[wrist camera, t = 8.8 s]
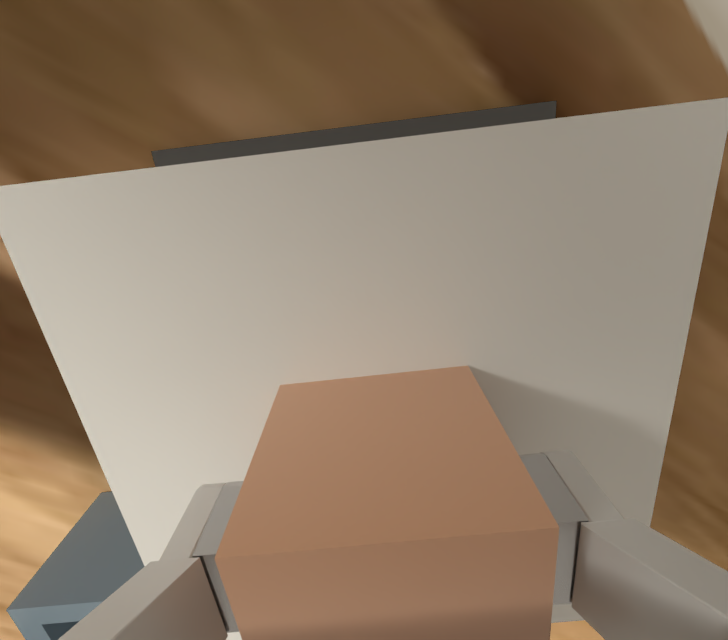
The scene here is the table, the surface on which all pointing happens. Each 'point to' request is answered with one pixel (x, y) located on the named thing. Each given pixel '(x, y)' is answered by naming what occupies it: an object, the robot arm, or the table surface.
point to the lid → (381, 354)
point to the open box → (78, 573)
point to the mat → (357, 134)
